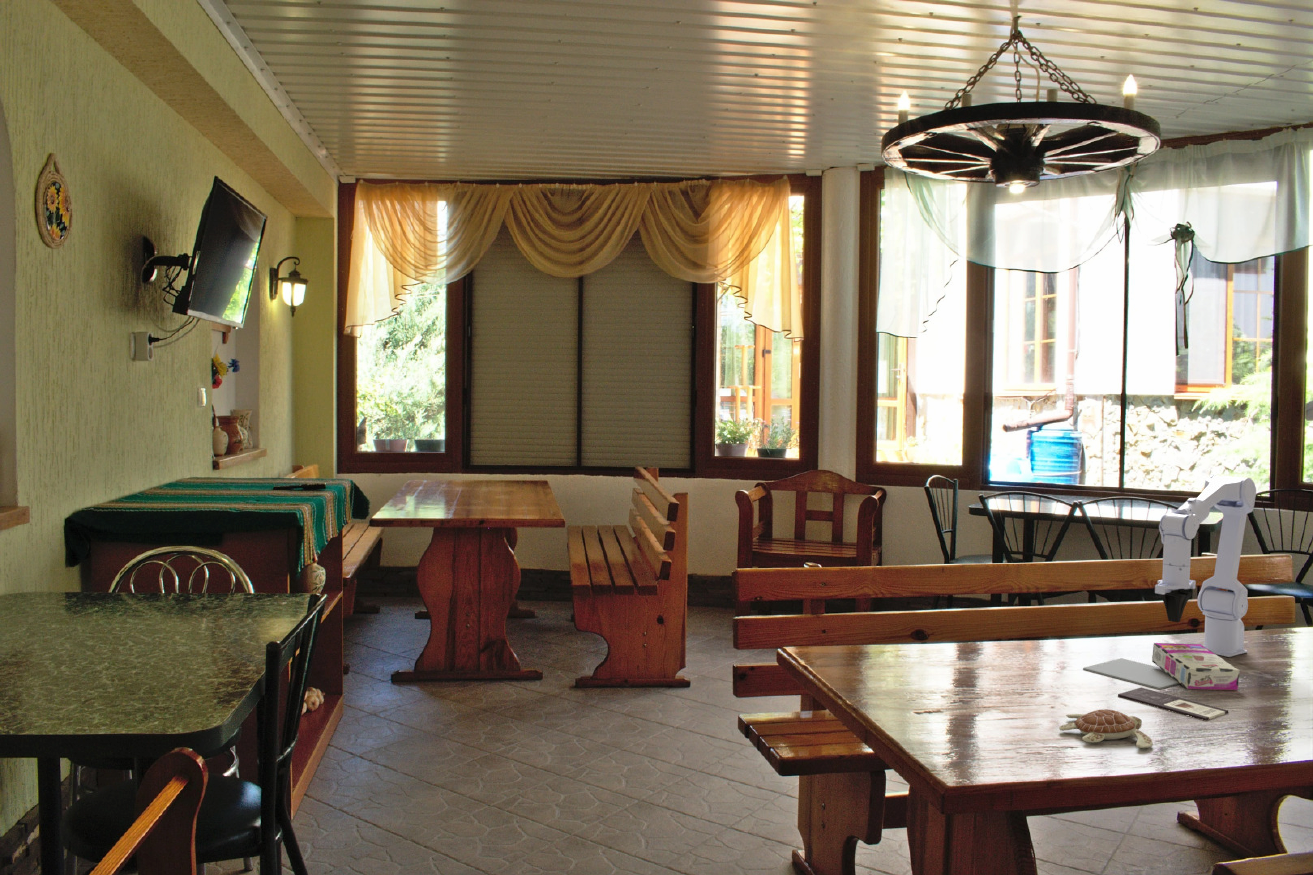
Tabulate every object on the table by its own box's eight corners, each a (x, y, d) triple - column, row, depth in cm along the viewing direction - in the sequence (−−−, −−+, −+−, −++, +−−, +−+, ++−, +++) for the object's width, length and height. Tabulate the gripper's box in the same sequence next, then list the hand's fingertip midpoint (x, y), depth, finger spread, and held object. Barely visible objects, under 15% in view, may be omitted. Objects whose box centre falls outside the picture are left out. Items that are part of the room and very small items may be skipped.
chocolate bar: (1141, 687, 211) (1228, 710, 196) (1141, 691, 211) (1228, 715, 196) (1117, 694, 206) (1205, 718, 191) (1117, 698, 206) (1205, 722, 191)
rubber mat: (1121, 659, 235) (1121, 658, 235) (1197, 678, 220) (1197, 676, 220) (1083, 669, 226) (1083, 667, 226) (1159, 689, 211) (1159, 687, 211)
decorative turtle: (1181, 748, 177) (1182, 721, 177) (1110, 759, 171) (1111, 731, 171) (1103, 716, 194) (1104, 692, 194) (1036, 725, 188) (1037, 700, 188)
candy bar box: (1151, 662, 228) (1186, 689, 212) (1152, 642, 227) (1188, 667, 211) (1199, 664, 228) (1238, 691, 211) (1201, 643, 227) (1241, 669, 211)
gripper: (1175, 559, 238) (1173, 614, 238) (1143, 564, 230) (1140, 621, 230) (1205, 563, 232) (1203, 620, 232) (1173, 568, 224) (1170, 627, 224)
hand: (1174, 621), depth 231 cm, fingers closed
